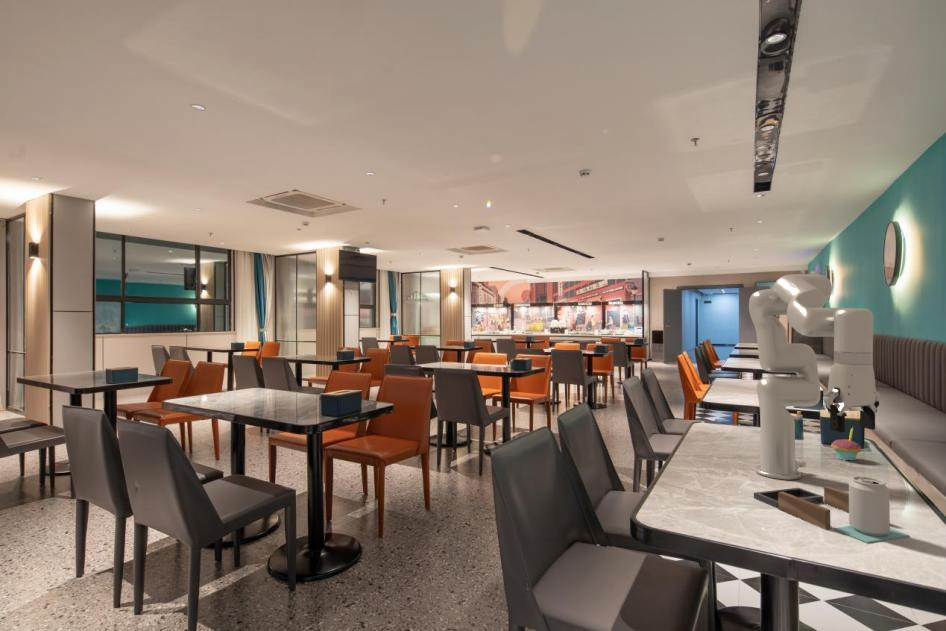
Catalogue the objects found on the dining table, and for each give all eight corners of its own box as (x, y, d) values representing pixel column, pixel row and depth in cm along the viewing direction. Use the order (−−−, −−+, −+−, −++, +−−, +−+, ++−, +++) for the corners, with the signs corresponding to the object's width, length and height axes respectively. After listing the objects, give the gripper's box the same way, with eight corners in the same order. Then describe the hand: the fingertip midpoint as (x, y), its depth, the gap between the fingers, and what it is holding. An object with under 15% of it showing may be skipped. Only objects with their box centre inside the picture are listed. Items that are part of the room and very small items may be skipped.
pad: (875, 523, 121) (875, 522, 121) (909, 536, 113) (909, 535, 113) (834, 529, 117) (834, 528, 117) (866, 543, 110) (866, 541, 110)
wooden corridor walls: (828, 503, 134) (828, 486, 134) (879, 521, 122) (878, 503, 122) (778, 509, 130) (778, 492, 130) (825, 529, 117) (825, 510, 117)
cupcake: (859, 458, 177) (859, 425, 178) (862, 464, 170) (862, 429, 170) (830, 455, 182) (830, 422, 182) (832, 460, 175) (831, 426, 175)
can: (892, 540, 111) (892, 486, 111) (851, 532, 114) (850, 481, 115) (886, 528, 117) (886, 477, 117) (847, 521, 121) (846, 472, 121)
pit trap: (798, 492, 142) (798, 487, 142) (823, 501, 135) (823, 496, 135) (753, 498, 138) (753, 492, 138) (776, 507, 131) (776, 502, 131)
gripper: (863, 356, 125) (863, 423, 126) (810, 359, 121) (810, 428, 121) (895, 359, 118) (895, 430, 118) (841, 362, 113) (840, 436, 114)
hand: (852, 429), depth 120 cm, fingers open, 9 cm apart
